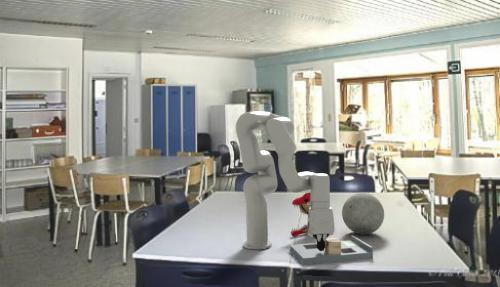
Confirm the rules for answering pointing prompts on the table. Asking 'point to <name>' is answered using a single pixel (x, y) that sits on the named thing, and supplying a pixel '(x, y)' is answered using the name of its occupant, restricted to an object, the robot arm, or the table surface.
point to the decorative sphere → (363, 213)
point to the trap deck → (349, 251)
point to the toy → (304, 209)
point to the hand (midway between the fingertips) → (320, 250)
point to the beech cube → (333, 246)
